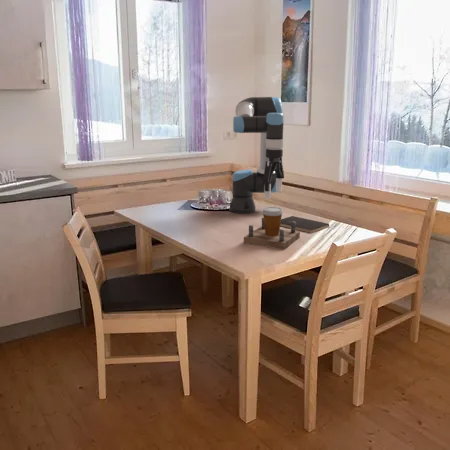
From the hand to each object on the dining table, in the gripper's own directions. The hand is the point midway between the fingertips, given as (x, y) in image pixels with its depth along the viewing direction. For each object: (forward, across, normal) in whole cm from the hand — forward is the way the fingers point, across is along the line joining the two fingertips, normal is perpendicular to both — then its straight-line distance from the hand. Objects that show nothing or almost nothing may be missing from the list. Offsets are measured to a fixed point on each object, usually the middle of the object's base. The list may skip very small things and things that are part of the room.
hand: (273, 195), depth 226 cm
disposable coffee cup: (+19, 0, 0) cm, 19 cm away
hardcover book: (+22, -30, +4) cm, 38 cm away
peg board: (+22, 0, 0) cm, 22 cm away
